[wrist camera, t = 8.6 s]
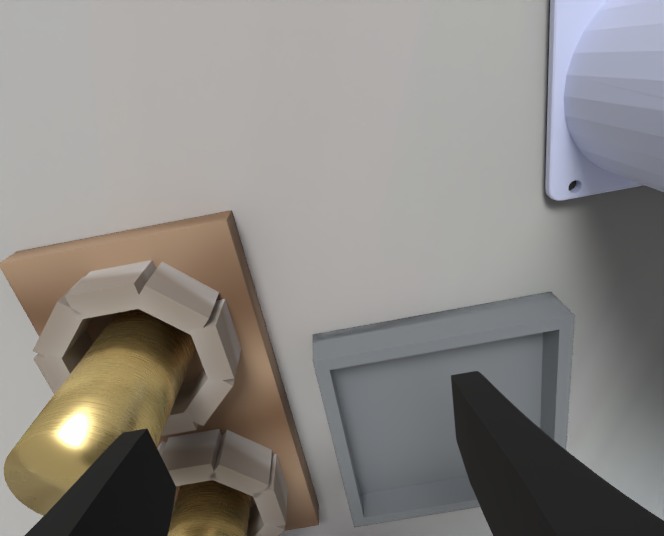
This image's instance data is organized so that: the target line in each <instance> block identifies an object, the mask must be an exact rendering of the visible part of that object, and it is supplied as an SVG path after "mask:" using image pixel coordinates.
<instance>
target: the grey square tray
mask: <svg viewBox="0 0 664 536" xmlns="http://www.w3.org/2000/svg"><path fill="white" fill-rule="evenodd" d="M574 318H575V315H574V314H573V313H572V312H571V311H570V310H569V309H568V308H567V307H566V306H565V305H564V304H563V303H562V302H561V301H560V300H559V299H558V298H557V297H556V296H555V295H554V294H553V293H552V292H547V293H541V294H536V295H530V296H525V297H519V298H514V299H508V300H503V301H497V302H491V303H486V304H480V305H475V306H469V307H464V308H458V309H453V310H447V311H442V312H436V313H430V314H425V315H419V316H414V317H408V318H403V319H397V320H392V321H386V322H380V323H375V324H369V325H364V326H358V327H353V328H347V329H342V330H336V331H330V332H325V333H319V334H314V335H313V364H314V368H315V372H316V376H317V380H318V384H319V388H320V392H321V396H322V400H323V404H324V408H325V412H326V416H327V420H328V424H329V428H330V432H331V436H332V440H333V444H334V448H335V452H336V456H337V460H338V464H339V468H340V472H341V476H342V480H343V484H344V488H345V492H346V496H347V500H348V504H349V508H350V512H351V516H352V520H353V524H354V527H359V526H365V525H371V524H377V523H383V522H389V521H396V520H402V519H408V518H414V517H420V516H426V515H432V514H439V513H445V512H451V511H457V510H463V509H469V508H475V507H480V504H479V502H478V500H477V498H476V495H475V493H474V491H473V488H472V486H471V484H470V481H469V478H468V475H467V472H466V469H465V466H464V463H463V460H462V457H461V453H460V450H459V447H458V444H457V441H456V432H455V420H454V408H453V396H452V384H451V375H456V374H461V373H467V372H473V371H478V372H480V373H481V374H483V375H484V376H485V377H486V378H487V379H488V380H489V381H490V382H491V383H492V384H493V385H494V386H495V387H496V388H497V389H498V390H499V391H500V392H501V393H502V394H503V395H504V396H505V397H506V398H507V399H508V400H509V401H510V402H511V403H512V404H513V405H514V406H516V407H517V408H518V409H519V410H520V411H521V412H522V413H523V414H524V415H525V416H526V417H528V418H529V419H530V420H531V421H532V422H533V423H534V424H536V425H537V426H538V427H539V428H540V429H541V430H543V431H544V432H545V433H546V434H547V435H548V436H549V437H551V438H552V439H553V440H554V441H555V442H557V443H558V444H559V445H560V446H561V447H563V448H564V449H565V450H566V442H567V427H568V411H569V396H570V380H571V365H572V349H573V334H574Z"/></svg>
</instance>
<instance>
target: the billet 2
mask: <svg viewBox="0 0 664 536" xmlns="http://www.w3.org/2000/svg"><path fill="white" fill-rule="evenodd" d="M251 499H252V496H251V495H248V494H246V493H244V492H241V491H239V490H236V489H234V488H231V487H229V486H226V485H224V484H221V483H219V482H217V481H214V480H209V481H204V482H198V483H192V484H186V485H181V486H180V489H179V492H178V495H177V499H176V502H175V505H174V509H173V512H172V516H171V522H170V527H169V532H168V536H247V529H248V521H249V514H250V506H251Z"/></svg>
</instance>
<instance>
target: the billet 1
mask: <svg viewBox="0 0 664 536" xmlns="http://www.w3.org/2000/svg"><path fill="white" fill-rule="evenodd" d="M195 349H196V347H195V344H194V342H193V339H192V336H191V335H190V334H188V333H186V332H184V331H182V330H180V329H178V328H176V327H174V326H172V325H170V324H168V323H166V322H164V321H162V320H160V319H158V318H156V317H154V316H152V315H150V314H148V313H146V312H144V311H142V310H140V309H135V310H129V311H124V312H118V313H117V314H116V315H115V316H114V317H113V318H112V320H111V321H110V322H109V324H108V325H107V326H106V328H105V329H104V330H103V332H102V333H101V334H100V335H99V337H98V338H97V339H96V341H95V342H94V343H93V345H92V346H91V347H90V349H89V350H88V351H87V352H86V354H85V355H84V356H83V358H82V359H81V360H80V362H79V363H78V364H77V366H76V367H75V368H74V370H73V371H72V372H71V373H70V375H69V376H68V377H67V379H66V380H65V381H64V383H63V384H62V385H61V387H60V388H59V389H58V390H57V392H56V393H55V394H54V396H53V397H52V398H51V400H50V401H49V402H48V404H47V405H46V406H45V408H44V409H43V410H42V411H41V413H40V414H39V415H38V417H37V418H36V419H35V421H34V422H33V423H32V425H31V426H30V427H29V428H28V430H27V431H26V432H25V434H24V435H23V436H22V438H21V439H20V440H19V442H18V443H17V444H16V446H15V447H14V448H13V449H12V451H11V452H10V454H9V455H8V457H7V459H6V461H5V465H4V476H5V481H6V483H7V485H8V487H9V489H10V490H11V492H12V493H13V494H14V495H15V497H16V498H17V499H18V500H19V501H21V502H22V503H23V504H24V505H26V506H27V507H28V508H30V509H32V510H33V511H35V512H37V513H39V514H41V515H43V516H44V515H45V514H46V513H47V512H48V511H49V510H50V509H51V508H52V507H53V506H54V505H55V504H56V503H57V502H58V501H59V499H60V498H61V497H62V496H63V495H64V494H65V493H66V492H67V491H68V490H69V489H70V488H71V487H72V486H73V484H74V483H75V482H76V481H77V480H78V479H79V478H80V477H81V476H82V475H83V474H84V473H85V471H86V470H87V469H88V468H89V467H90V466H91V465H92V464H93V463H94V462H95V461H96V460H97V458H98V457H99V456H100V455H101V454H102V453H103V452H104V451H105V450H106V449H107V448H108V447H109V446H110V445H111V444H112V443H113V442H114V441H115V440H116V439H117V438H118V437H119V436H120V435H121V434H122V433H123V432H129V431H135V430H140V429H146V428H147V429H148V431H149V433H150V435H151V437H152V439H153V441H154V443H155V445H156V447H157V446H158V443H159V440H160V438H161V435H162V433H163V430H164V428H165V425H166V423H167V420H168V418H169V415H170V413H171V410H172V408H173V405H174V403H175V400H176V398H177V395H178V393H179V390H180V387H181V385H182V382H183V380H184V377H185V375H186V372H187V370H188V367H189V365H190V362H191V360H192V357H193V355H194V352H195Z"/></svg>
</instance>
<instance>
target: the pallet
mask: <svg viewBox="0 0 664 536" xmlns="http://www.w3.org/2000/svg"><path fill="white" fill-rule="evenodd" d="M0 268H1V270H2V272H3V273H4V275H5V277H6V279H7V280H8V282H9V284H10V286H11V287H12V289H13V291H14V293H15V295H16V296H17V298H18V300H19V302H20V303H21V305H22V307H23V309H24V310H25V312H26V314H27V316H28V318H29V319H30V321H31V323H32V325H33V326H34V328H35V330H36V332H37V333H38V335H39V339H38V341H37V343H36V345H35V347H34V349H33V351H34V352H37V353H38V354H37V355H36V357H35V358H34V361H35V362H36V364H37V366H38V367H39V369H40V371H41V373H42V374H43V376H44V378H45V379H46V381H47V383H48V384H49V386H50V388H51V390H52V391H53V393H54V394H55V393H56V392H57V390H58V389H59V388H60V387H61V385H62V384H63V383H64V381H65V380H66V379H67V377H68V376H69V375H70V373H71V372H72V371H73V370H74V368H75V367H76V366H77V364H78V363H79V362H80V360H81V359H82V358H83V356H84V355H85V354H86V352H87V351H88V350H89V349H90V347H91V346H92V345H93V343H94V342H95V341H96V339H97V338H98V337H99V335H100V334H101V333H102V332H103V330H104V329H105V328H106V326H107V325H108V324H109V322H110V321H111V320H112V318H113V317H114V316H115V315H116V314H117V313H118V312H124V311H129V310H135V309H140V310H142V311H144V312H146V313H148V314H150V315H152V316H154V317H156V318H158V319H160V320H162V321H164V322H166V323H168V324H170V325H172V326H174V327H176V328H178V329H180V330H182V331H184V332H186V333H188V334H190V335H191V336H192V339H193V342H194V344H195V347H196V349H195V352H194V355H193V357H192V360H191V362H190V365H189V367H188V370H187V372H186V375H185V377H184V380H183V382H182V385H181V387H180V390H179V393H178V395H177V398H176V400H175V403H174V405H173V408H172V410H171V413H170V415H169V418H168V420H167V423H166V425H165V428H164V430H163V433H162V435H161V438H160V440H159V443H158V446H157V449H158V451H159V453H160V455H161V457H162V459H163V461H164V463H165V465H166V467H167V469H168V471H169V473H170V475H171V477H172V479H173V482H174V484H175V486H176V492H175V498H174V505H175V502H176V499H177V495H178V492H179V489H180V486H181V485H186V484H192V483H198V482H204V481H209V480H214V481H217V482H219V483H221V484H224V485H226V486H229V487H231V488H234V489H236V490H239V491H241V492H244V493H246V494H248V495H251V496H252V499H251V506H250V514H249V521H248V529H247V536H279V535H280V534H281V533H282V532H283V531H285V530H291V529H297V528H303V527H309V526H315V525H319V512H318V502H317V499H316V495H315V492H314V489H313V485H312V482H311V478H310V475H309V472H308V468H307V465H306V461H305V458H304V455H303V451H302V448H301V445H300V441H299V438H298V434H297V431H296V428H295V424H294V421H293V417H292V414H291V411H290V407H289V404H288V400H287V397H286V394H285V390H284V387H283V383H282V380H281V377H280V373H279V370H278V367H277V363H276V360H275V356H274V353H273V350H272V346H271V343H270V339H269V336H268V333H267V329H266V326H265V322H264V319H263V316H262V312H261V309H260V306H259V302H258V299H257V295H256V292H255V289H254V285H253V282H252V278H251V275H250V272H249V268H248V265H247V261H246V258H245V255H244V251H243V248H242V244H241V241H240V238H239V234H238V231H237V228H236V224H235V221H234V217H233V214H232V211H226V212H221V213H215V214H210V215H205V216H200V217H195V218H189V219H184V220H179V221H174V222H169V223H163V224H158V225H153V226H148V227H143V228H137V229H132V230H127V231H122V232H116V233H111V234H106V235H101V236H96V237H90V238H85V239H80V240H75V241H70V242H64V243H59V244H54V245H49V246H44V247H38V248H33V249H28V250H23V251H18V252H16V253H14V254H13V255H11V256H9V257H8V258H6V259H5V260H3V261H2V262H0ZM174 505H173V509H174ZM172 512H173V511H172Z"/></svg>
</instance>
